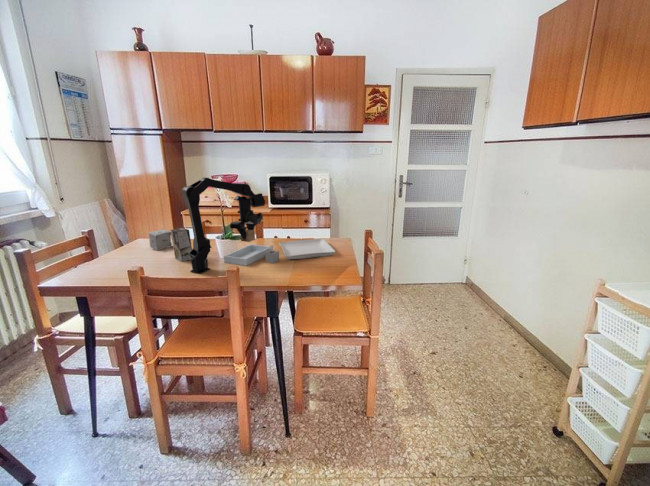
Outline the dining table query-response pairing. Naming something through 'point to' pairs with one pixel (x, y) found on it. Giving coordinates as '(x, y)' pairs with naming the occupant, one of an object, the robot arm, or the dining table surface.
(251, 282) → the dining table surface
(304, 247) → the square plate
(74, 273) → the dining table surface
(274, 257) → the gauged block
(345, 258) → the dining table surface
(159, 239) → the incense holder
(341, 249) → the dining table surface
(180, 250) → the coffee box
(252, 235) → the walnut block
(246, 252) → the tray
